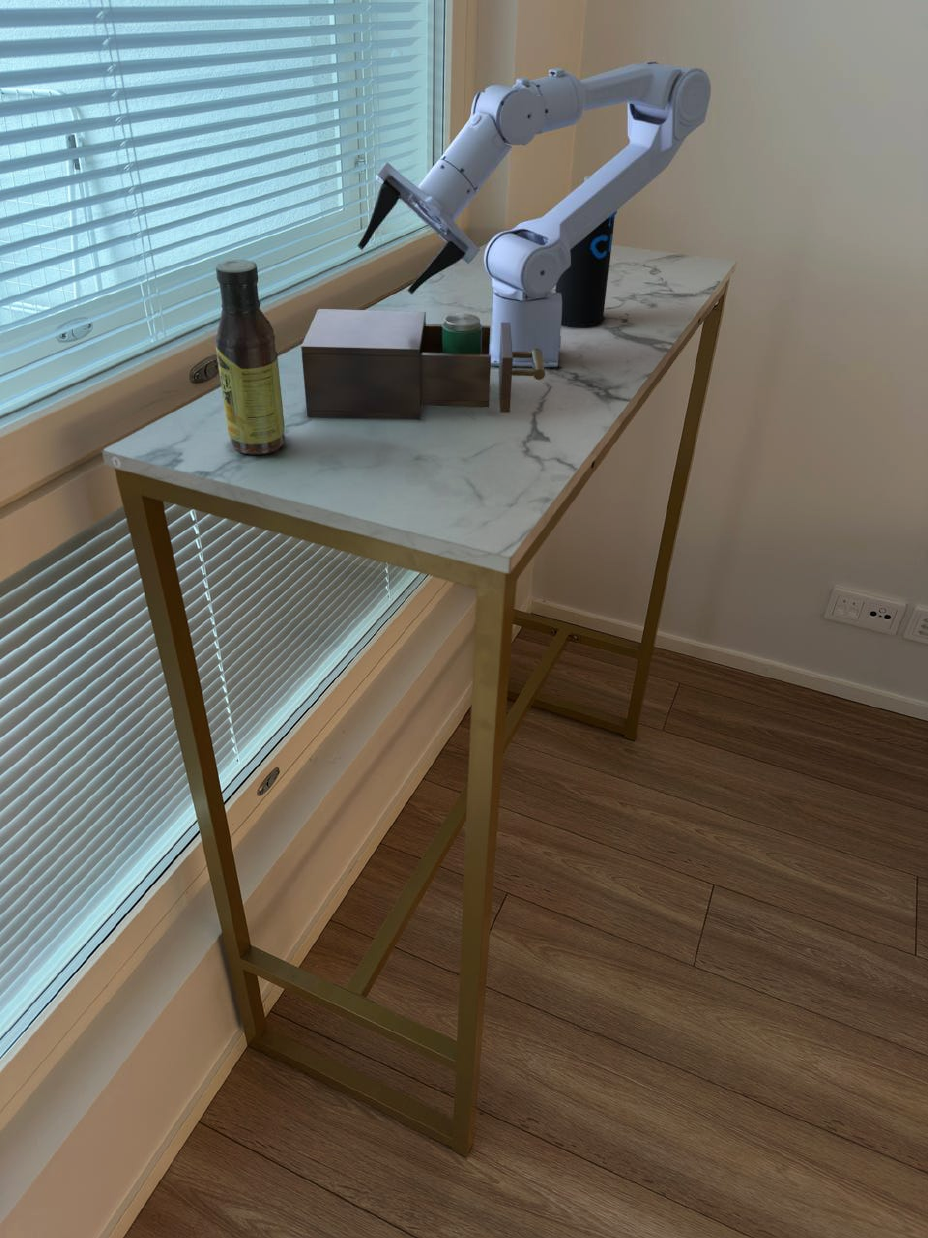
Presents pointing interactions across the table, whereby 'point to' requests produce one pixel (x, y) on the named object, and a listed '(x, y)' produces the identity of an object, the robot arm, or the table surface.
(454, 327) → the can
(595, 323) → the aerosol can
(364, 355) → the cabinet
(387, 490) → the table surface
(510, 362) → the drawer
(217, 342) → the sauce bottle
